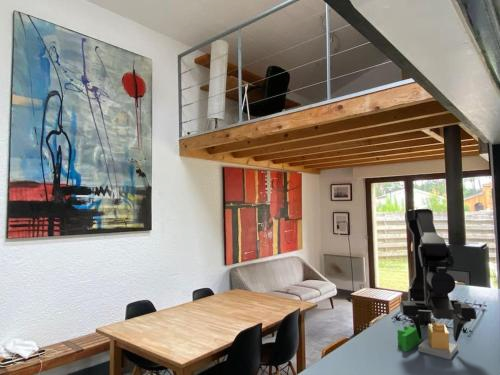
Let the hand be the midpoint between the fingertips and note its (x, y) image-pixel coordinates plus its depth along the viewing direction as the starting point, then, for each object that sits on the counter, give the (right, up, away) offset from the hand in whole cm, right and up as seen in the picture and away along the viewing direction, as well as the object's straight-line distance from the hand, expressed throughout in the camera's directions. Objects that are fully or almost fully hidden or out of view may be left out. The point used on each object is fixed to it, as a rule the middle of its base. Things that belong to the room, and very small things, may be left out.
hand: (437, 339), depth 98 cm
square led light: (0, -1, 0) cm, 1 cm away
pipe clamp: (-6, -4, +5) cm, 9 cm away
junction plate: (0, -3, 0) cm, 3 cm away
